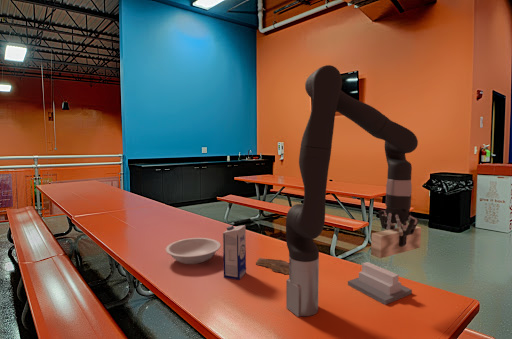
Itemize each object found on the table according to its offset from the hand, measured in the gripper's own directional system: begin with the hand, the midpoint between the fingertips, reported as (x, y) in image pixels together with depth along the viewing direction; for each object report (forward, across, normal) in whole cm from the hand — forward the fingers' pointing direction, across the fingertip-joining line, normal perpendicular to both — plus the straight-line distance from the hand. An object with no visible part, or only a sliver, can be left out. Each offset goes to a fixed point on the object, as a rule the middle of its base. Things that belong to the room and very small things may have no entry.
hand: (396, 244), depth 102 cm
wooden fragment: (+20, -41, -19) cm, 49 cm away
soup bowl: (+20, -66, -48) cm, 84 cm away
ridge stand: (+19, -7, +1) cm, 20 cm away
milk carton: (+19, -43, -39) cm, 61 cm away
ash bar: (+2, 0, 0) cm, 2 cm away
